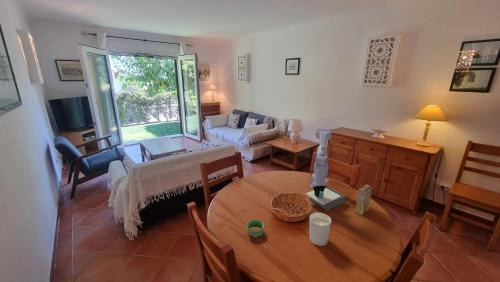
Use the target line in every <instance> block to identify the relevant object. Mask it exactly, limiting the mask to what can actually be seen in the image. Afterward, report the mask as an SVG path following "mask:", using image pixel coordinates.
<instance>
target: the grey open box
mask: <svg viewBox="0 0 500 282" xmlns="http://www.w3.org/2000/svg"><path fill="white" fill-rule="evenodd" d="M326 188H327V189H329V190H331V191H333V192H335V193H337V194H338V195H340V196H341V197H340V198H338V199H336V200H334V201H331V202H329V203H327V204H325V205H322V204H320V203H319V202H317V201H315V200H314V199H312V198H310V197H309V201H311V202H313V204H315V205H317V206H319V207H320V208H321V209H324V210H325V211H328V212H329V211H330V210H332V209H335V208H337V207H338V206H340V205H343V204H345V202H346V195H345V194H344V193H341V192H339V191H337V190H336V189H333V188H332V187H330V186H327V187H326Z"/></svg>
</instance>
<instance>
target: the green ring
mask: <svg viewBox="0 0 500 282" xmlns="http://www.w3.org/2000/svg"><path fill="white" fill-rule="evenodd" d="M251 227H259V228H261V230H258V231H253V230H250V228H251ZM246 228H247V234H248V235H249V236H250V235H251V236H256V237H255V238H258V237H257V236H260V237H262V235H263V234H264V228H265V224H264V222H263V221H262V220H260V219H252V220H250V221H248V222H247V224H246ZM251 236H250V237H251Z"/></svg>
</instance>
